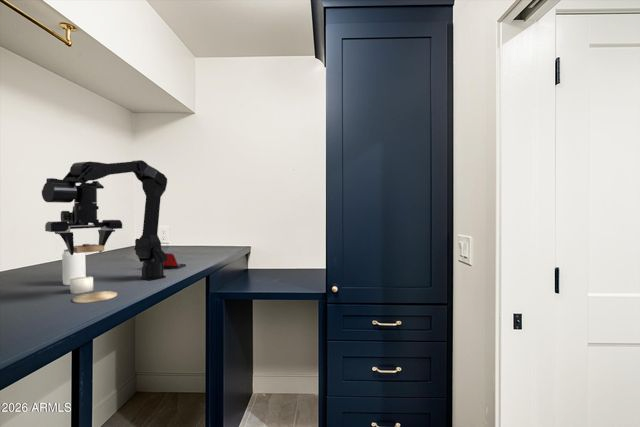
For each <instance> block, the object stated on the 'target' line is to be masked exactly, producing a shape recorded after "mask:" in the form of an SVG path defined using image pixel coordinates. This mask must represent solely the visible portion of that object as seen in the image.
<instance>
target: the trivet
mask: <svg viewBox="0 0 640 427" xmlns="http://www.w3.org/2000/svg"><path fill="white" fill-rule="evenodd" d="M117 296H118V292H116V291H112V290H111V291H110V290H108V291H105V290H104V291H95V292H94V291H93V292H86V293H82V294H79V295H77V296H74V297H73V298H72V302H73V303H76V304H87V303H97V302H98V303H99V302H104V301H107V300H111V299H113V298H116V297H117Z"/></svg>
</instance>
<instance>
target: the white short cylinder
mask: <svg viewBox="0 0 640 427" xmlns="http://www.w3.org/2000/svg"><path fill="white" fill-rule="evenodd" d="M92 291H94V277H93V276H86V277H78V278H73V279H70V285H69V294H75V295H76V294H86V293H91V292H92Z"/></svg>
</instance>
